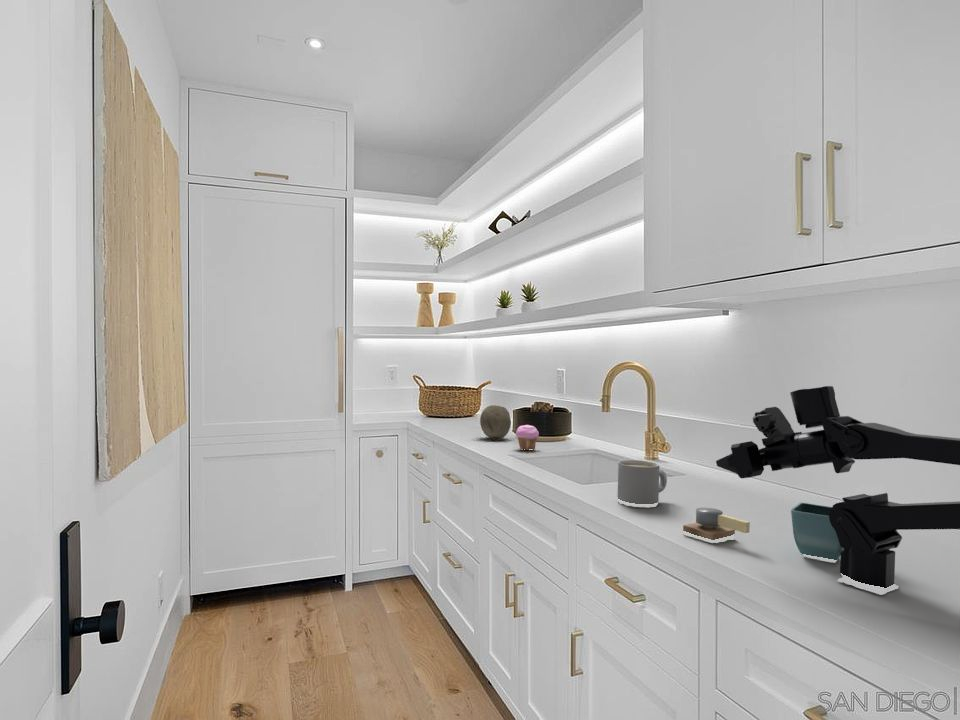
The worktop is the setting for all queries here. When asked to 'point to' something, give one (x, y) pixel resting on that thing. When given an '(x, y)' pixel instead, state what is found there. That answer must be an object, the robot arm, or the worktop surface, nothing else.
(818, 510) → the flower pot
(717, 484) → the worktop surface
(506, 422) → the cantaloupe
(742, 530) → the toy pan
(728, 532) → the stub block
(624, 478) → the coffee mug
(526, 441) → the cupcake
